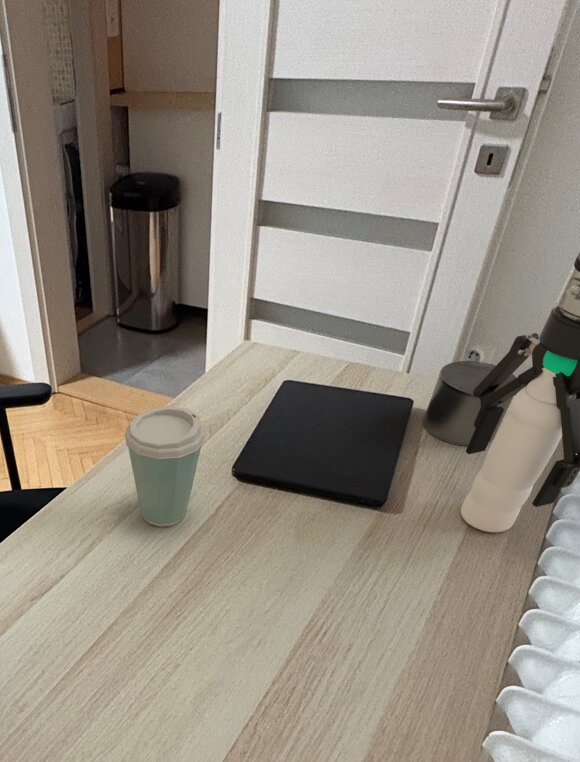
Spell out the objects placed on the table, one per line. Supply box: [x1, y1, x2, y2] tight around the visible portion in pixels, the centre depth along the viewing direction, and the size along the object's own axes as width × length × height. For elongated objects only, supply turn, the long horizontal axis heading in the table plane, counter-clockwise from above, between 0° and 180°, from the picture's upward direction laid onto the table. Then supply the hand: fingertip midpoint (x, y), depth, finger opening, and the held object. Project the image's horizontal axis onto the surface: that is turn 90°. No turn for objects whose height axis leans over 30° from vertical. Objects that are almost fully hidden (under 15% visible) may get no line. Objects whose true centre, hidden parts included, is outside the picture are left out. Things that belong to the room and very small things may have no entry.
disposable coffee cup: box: [124, 405, 206, 527], centre depth 86 cm, size 11×11×15 cm
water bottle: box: [460, 350, 577, 533], centre depth 80 cm, size 7×7×25 cm
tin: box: [422, 360, 517, 447], centre depth 102 cm, size 12×12×9 cm
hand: (507, 476), depth 83 cm, fingers open, 12 cm apart
